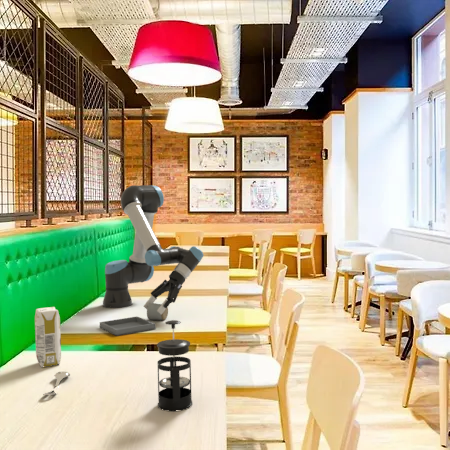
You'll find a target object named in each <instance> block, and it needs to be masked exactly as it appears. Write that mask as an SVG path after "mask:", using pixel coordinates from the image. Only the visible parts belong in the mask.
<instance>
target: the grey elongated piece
mask: <svg viewBox="0 0 450 450" xmlns="http://www.w3.org/2000/svg"><path fill="white" fill-rule="evenodd" d="M67 376H69V377H70V376H71V373H69V372H68V371H59V372H56V373H55V374H54V378H55V379H56V383H55V385H54V387H55V386H56V387H57V386H58V387H59V384H60V382H61V381H62V380H63V379H65V378H68V377H67ZM50 392H51V391H48V392H45V393H43V394H42V395H43V396H50V395H52V396H53V395H57V394H56V393H55V392H51V393H50Z"/></svg>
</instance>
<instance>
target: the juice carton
mask: <svg viewBox="0 0 450 450" xmlns="http://www.w3.org/2000/svg"><path fill="white" fill-rule="evenodd" d="M59 313H60V312H59V310H58V309H56V307H55V306H50V307H48V306H47V307H40V308H36V309H35V315H34V330H35V331H34V335H35V338H34V339H35V355H36V360H37V363H38V364H39V365H40V368H44V367H43V366H49V367H52V366H51V365H55V366H58V365H57V364H61V360H62V344H61V343H62V339H61V337H62V335H61V317H60V314H59Z"/></svg>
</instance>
